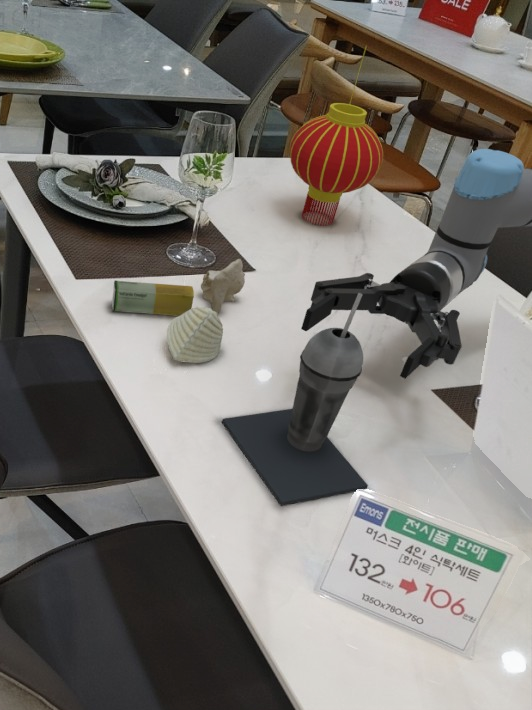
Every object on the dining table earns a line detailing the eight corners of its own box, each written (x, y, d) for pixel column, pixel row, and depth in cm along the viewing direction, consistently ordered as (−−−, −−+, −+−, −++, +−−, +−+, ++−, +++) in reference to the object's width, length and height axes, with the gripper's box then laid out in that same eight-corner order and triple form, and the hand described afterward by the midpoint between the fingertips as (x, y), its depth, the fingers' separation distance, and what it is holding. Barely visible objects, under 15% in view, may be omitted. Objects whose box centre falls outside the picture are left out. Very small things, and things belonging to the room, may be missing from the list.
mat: (366, 489, 92) (368, 485, 92) (280, 505, 88) (282, 502, 88) (301, 410, 103) (302, 407, 102) (221, 422, 98) (222, 418, 98)
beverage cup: (264, 434, 97) (307, 289, 83) (301, 415, 101) (347, 274, 87) (308, 466, 93) (360, 320, 79) (344, 445, 97) (400, 303, 83)
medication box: (111, 312, 115) (113, 289, 112) (111, 302, 117) (113, 279, 114) (190, 317, 116) (194, 294, 113) (189, 307, 118) (193, 284, 115)
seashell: (239, 331, 111) (235, 329, 103) (201, 376, 113) (194, 378, 106) (196, 294, 111) (190, 290, 103) (159, 340, 113) (150, 339, 106)
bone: (213, 273, 125) (248, 235, 116) (237, 304, 125) (273, 269, 117) (180, 291, 120) (214, 253, 112) (205, 324, 120) (240, 289, 112)
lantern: (316, 196, 159) (363, 30, 139) (378, 231, 150) (437, 59, 129) (256, 207, 151) (296, 32, 130) (317, 244, 142) (370, 63, 121)
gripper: (498, 350, 103) (439, 415, 90) (336, 279, 112) (261, 328, 99) (524, 299, 98) (465, 360, 85) (352, 229, 107) (275, 274, 94)
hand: (355, 343), depth 92 cm, fingers open, 13 cm apart
